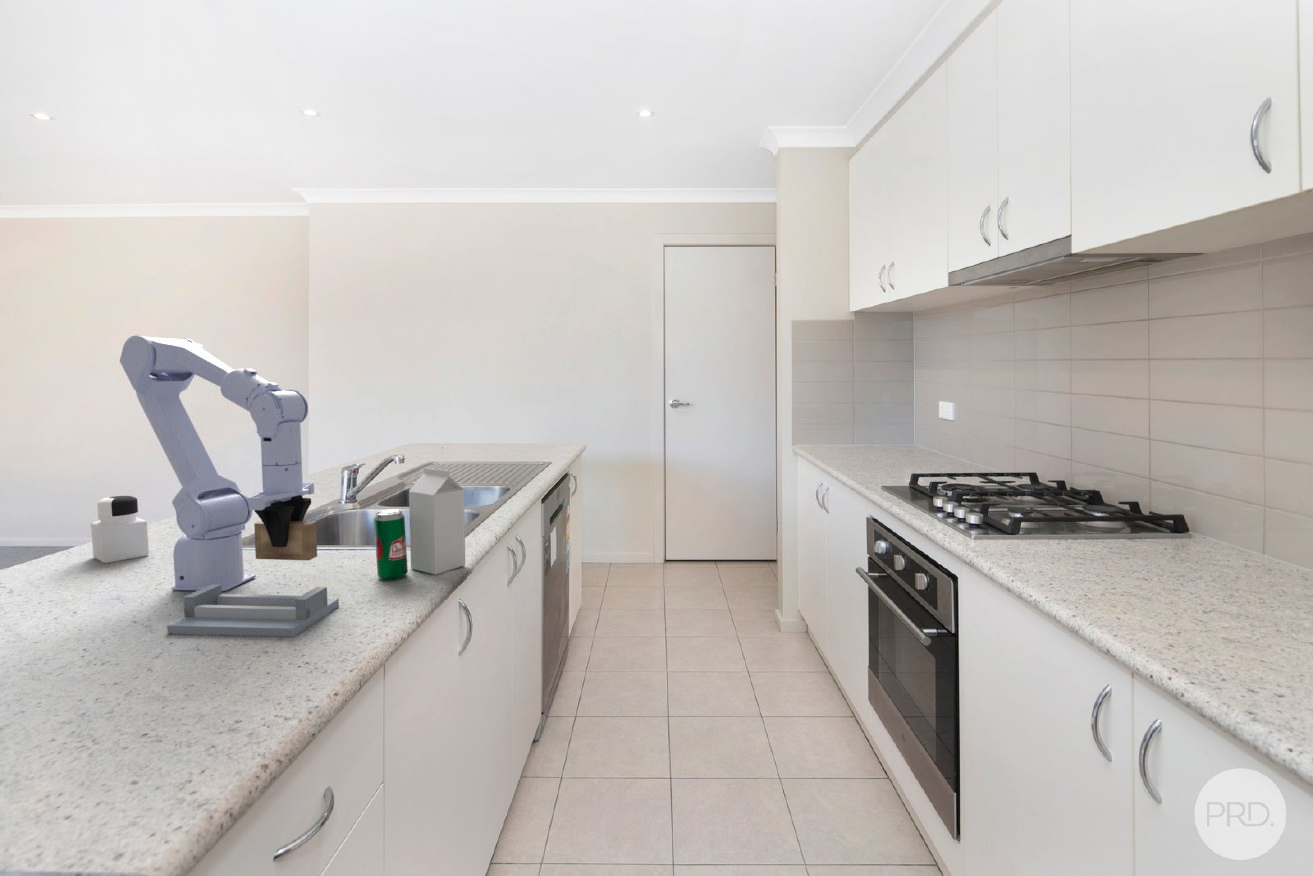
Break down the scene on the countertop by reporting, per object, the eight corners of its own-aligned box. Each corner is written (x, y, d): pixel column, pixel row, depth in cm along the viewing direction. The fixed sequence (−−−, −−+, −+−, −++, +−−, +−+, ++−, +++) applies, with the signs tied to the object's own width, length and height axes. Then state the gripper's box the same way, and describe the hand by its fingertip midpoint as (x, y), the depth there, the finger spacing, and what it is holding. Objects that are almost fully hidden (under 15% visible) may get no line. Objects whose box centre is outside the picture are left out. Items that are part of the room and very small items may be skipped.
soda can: (394, 582, 112) (390, 516, 110) (371, 579, 113) (367, 514, 112) (413, 573, 117) (410, 509, 115) (391, 570, 118) (387, 508, 117)
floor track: (167, 633, 89) (165, 604, 88) (227, 603, 101) (226, 577, 100) (293, 636, 88) (291, 607, 88) (338, 606, 100) (337, 580, 100)
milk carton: (435, 575, 116) (433, 473, 114) (410, 569, 120) (407, 469, 118) (465, 566, 122) (464, 468, 120) (441, 560, 126) (439, 465, 124)
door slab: (255, 559, 105) (254, 523, 104) (265, 554, 107) (264, 520, 107) (308, 560, 105) (307, 524, 104) (317, 556, 107) (316, 521, 106)
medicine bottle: (137, 549, 131) (134, 492, 130) (149, 555, 127) (145, 496, 125) (92, 557, 125) (88, 497, 124) (103, 564, 121) (99, 502, 120)
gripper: (278, 470, 97) (281, 556, 98) (329, 458, 112) (332, 533, 113) (233, 469, 97) (237, 555, 99) (290, 457, 112) (293, 532, 113)
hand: (285, 544), depth 106 cm, fingers closed on door slab, 2 cm apart
